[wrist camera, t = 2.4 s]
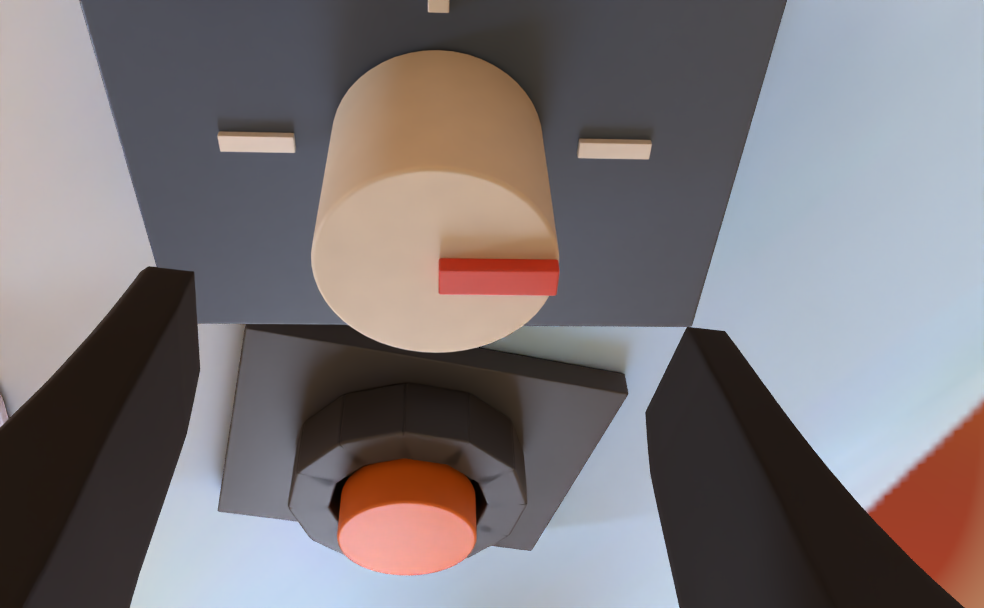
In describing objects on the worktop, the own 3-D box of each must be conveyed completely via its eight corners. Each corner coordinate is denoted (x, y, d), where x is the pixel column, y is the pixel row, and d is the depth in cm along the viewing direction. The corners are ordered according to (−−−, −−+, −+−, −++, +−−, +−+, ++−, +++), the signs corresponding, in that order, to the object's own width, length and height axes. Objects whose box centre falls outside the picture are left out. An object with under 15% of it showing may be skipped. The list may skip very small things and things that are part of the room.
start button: (331, 522, 27) (326, 568, 26) (354, 446, 25) (350, 493, 23) (456, 538, 28) (456, 582, 27) (491, 466, 25) (493, 512, 24)
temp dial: (339, 225, 18) (320, 366, 15) (322, 45, 15) (295, 177, 12) (533, 227, 18) (549, 368, 15) (552, 50, 15) (575, 182, 13)
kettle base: (221, 491, 30) (206, 561, 28) (249, 306, 24) (232, 379, 22) (529, 531, 32) (535, 598, 30) (625, 373, 26) (639, 443, 24)
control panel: (199, 240, 22) (170, 329, 20) (92, -207, 15) (28, -147, 13) (669, 246, 23) (694, 333, 20) (773, -179, 16) (828, -118, 14)
